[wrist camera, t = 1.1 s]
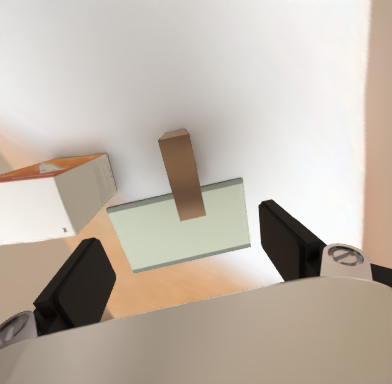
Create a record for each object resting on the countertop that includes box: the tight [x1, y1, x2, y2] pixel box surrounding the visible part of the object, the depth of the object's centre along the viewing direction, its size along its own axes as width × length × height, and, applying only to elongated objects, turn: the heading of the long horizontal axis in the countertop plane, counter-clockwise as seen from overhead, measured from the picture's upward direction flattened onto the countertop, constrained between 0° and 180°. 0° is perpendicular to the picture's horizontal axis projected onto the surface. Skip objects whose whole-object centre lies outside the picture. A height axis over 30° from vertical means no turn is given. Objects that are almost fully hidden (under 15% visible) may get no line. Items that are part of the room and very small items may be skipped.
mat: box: [106, 178, 251, 273], centre depth 34 cm, size 14×23×1 cm, turn 102°
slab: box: [158, 129, 206, 221], centre depth 25 cm, size 9×3×11 cm, turn 12°
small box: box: [0, 153, 117, 245], centre depth 23 cm, size 8×6×13 cm
